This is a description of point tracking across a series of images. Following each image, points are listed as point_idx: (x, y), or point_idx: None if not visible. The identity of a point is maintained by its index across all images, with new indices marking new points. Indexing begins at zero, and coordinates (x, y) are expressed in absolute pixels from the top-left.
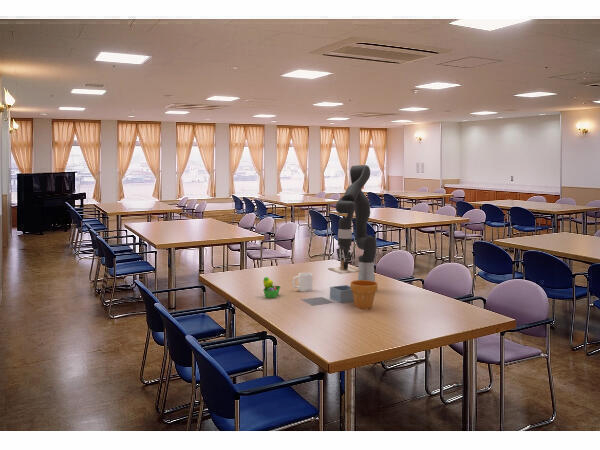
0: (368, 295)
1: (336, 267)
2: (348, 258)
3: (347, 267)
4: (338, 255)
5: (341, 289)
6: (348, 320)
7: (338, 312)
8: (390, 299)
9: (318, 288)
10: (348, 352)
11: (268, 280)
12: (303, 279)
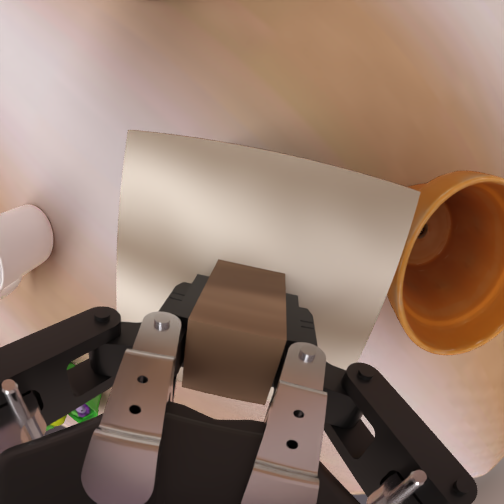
0: (488, 274)
1: (121, 286)
2: (322, 390)
3: (306, 315)
4: (83, 396)
5: None
6: (452, 384)
7: (386, 363)
8: (401, 12)
9: (28, 160)
10: (500, 451)
11: (53, 424)
12: (13, 281)
